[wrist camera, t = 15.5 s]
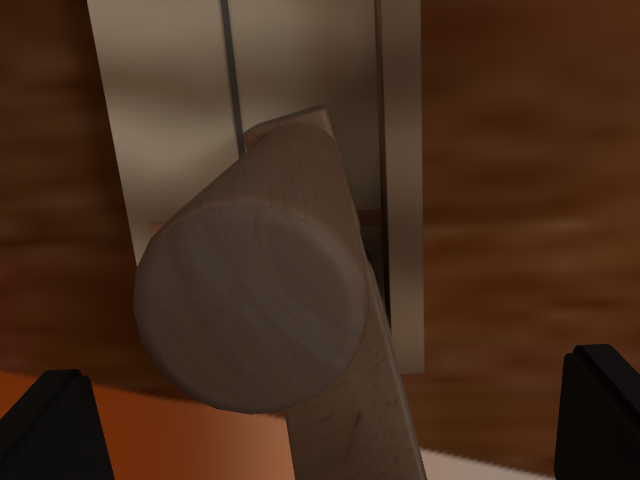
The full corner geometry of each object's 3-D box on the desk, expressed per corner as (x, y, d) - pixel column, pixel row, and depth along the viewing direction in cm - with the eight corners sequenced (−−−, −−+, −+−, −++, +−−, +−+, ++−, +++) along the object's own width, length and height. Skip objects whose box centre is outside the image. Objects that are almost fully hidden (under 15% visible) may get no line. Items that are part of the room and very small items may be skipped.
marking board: (56, -267, 22) (-20, -362, 17) (396, -299, 21) (416, -406, 16) (164, 338, 30) (134, 388, 25) (408, 324, 30) (424, 372, 25)
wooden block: (317, 326, 27) (301, 742, 10) (251, 125, 24) (71, 226, 7) (386, 308, 27) (490, 707, 10) (327, 102, 24) (329, 151, 7)
